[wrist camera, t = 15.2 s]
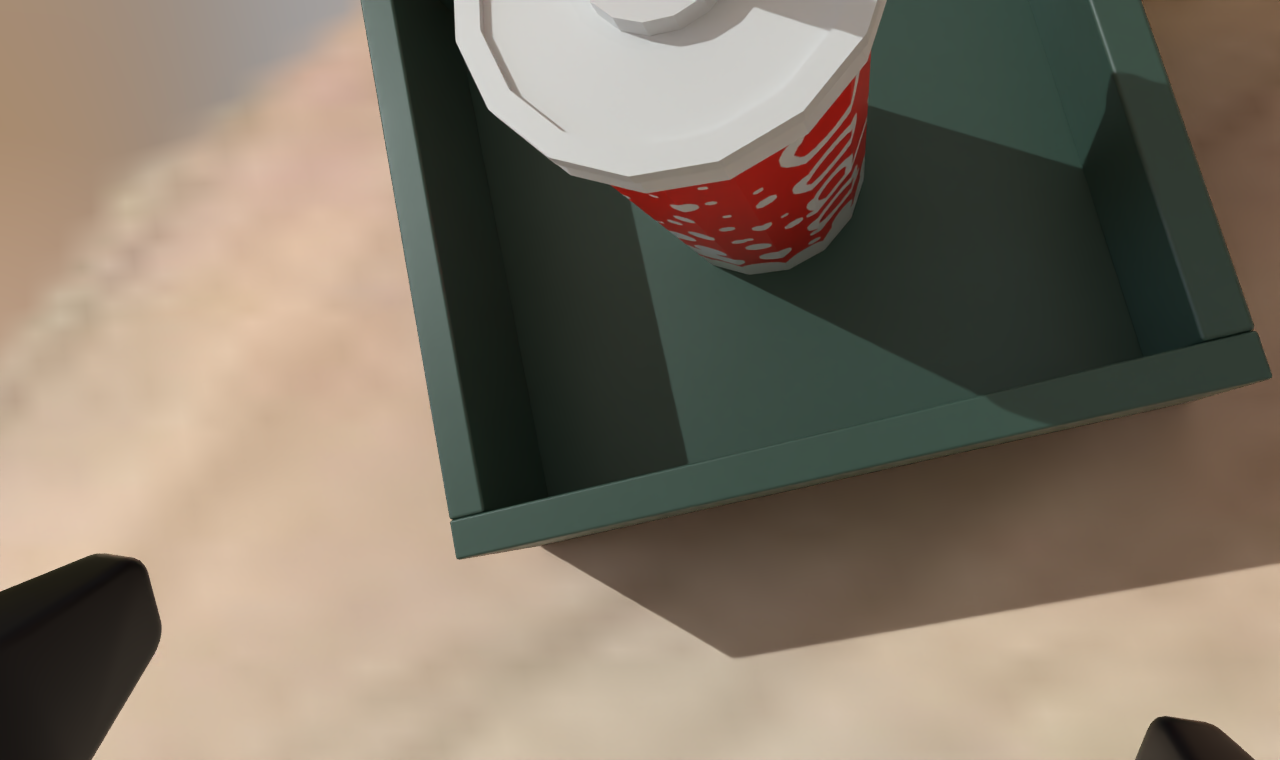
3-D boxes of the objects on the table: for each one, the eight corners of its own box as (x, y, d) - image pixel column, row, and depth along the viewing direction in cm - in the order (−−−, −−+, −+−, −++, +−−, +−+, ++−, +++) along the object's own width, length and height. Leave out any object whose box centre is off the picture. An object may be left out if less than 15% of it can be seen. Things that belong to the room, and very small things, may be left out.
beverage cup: (739, 363, 20) (406, 118, 7) (584, 171, 22) (67, -337, 8) (960, 182, 19) (1095, -530, 6) (781, -4, 21) (559, -900, 7)
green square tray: (1193, 401, 18) (1274, 378, 14) (537, 546, 21) (455, 560, 18) (992, -211, 20) (1013, -375, 16) (436, 12, 24) (345, -79, 20)
